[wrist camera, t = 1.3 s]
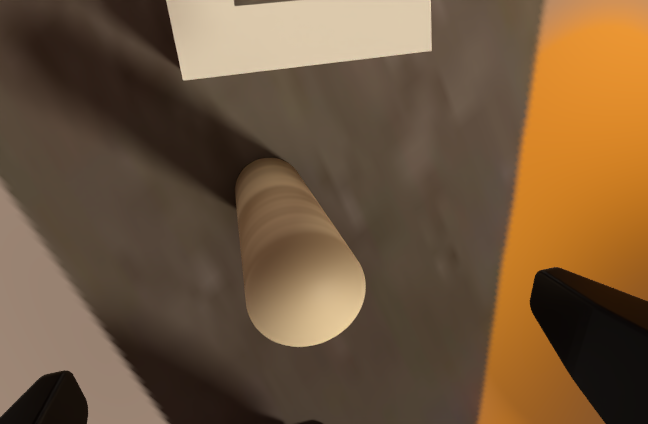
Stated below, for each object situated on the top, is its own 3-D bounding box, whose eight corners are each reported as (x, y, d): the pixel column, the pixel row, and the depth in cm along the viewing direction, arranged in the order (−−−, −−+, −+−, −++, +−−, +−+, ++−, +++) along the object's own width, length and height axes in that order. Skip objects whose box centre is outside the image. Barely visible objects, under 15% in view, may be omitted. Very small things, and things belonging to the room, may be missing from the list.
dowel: (306, 216, 22) (369, 332, 12) (241, 227, 21) (256, 358, 12) (297, 152, 20) (361, 227, 11) (229, 163, 20) (235, 251, 11)
